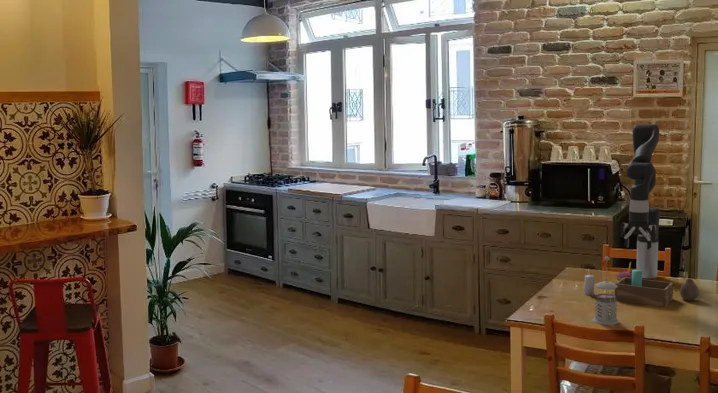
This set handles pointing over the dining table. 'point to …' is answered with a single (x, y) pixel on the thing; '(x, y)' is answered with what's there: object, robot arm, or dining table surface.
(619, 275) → the cupcake
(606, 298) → the french press
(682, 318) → the dining table surface
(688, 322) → the dining table surface
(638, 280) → the teal peg
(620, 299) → the peg box
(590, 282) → the grey peg
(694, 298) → the vase
